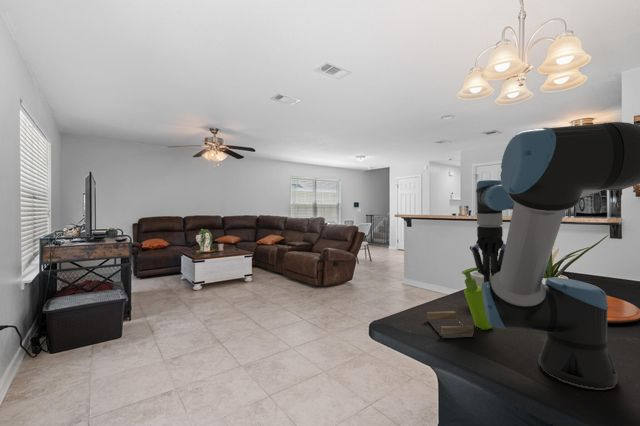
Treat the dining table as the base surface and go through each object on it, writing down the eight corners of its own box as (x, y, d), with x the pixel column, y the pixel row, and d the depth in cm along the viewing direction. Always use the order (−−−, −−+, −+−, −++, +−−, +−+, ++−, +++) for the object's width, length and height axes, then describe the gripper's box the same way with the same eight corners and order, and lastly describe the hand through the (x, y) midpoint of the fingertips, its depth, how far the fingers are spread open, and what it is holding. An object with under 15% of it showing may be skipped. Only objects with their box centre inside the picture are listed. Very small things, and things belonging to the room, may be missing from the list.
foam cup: (465, 304, 128) (465, 273, 127) (481, 300, 131) (480, 270, 131) (486, 311, 119) (486, 278, 118) (502, 307, 123) (501, 275, 122)
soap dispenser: (500, 324, 102) (482, 268, 101) (480, 331, 102) (462, 275, 101) (491, 317, 108) (473, 264, 107) (472, 324, 108) (454, 271, 107)
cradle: (473, 337, 98) (473, 326, 98) (442, 339, 98) (442, 328, 98) (454, 320, 112) (454, 310, 112) (427, 321, 112) (426, 312, 112)
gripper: (502, 223, 107) (503, 290, 108) (465, 225, 107) (466, 291, 109) (515, 225, 100) (516, 297, 101) (475, 227, 100) (477, 298, 101)
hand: (490, 294), depth 105 cm, fingers closed
